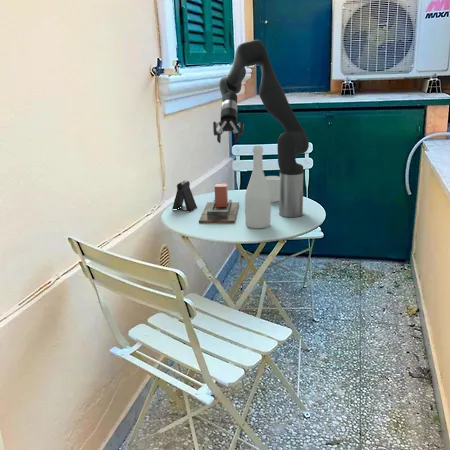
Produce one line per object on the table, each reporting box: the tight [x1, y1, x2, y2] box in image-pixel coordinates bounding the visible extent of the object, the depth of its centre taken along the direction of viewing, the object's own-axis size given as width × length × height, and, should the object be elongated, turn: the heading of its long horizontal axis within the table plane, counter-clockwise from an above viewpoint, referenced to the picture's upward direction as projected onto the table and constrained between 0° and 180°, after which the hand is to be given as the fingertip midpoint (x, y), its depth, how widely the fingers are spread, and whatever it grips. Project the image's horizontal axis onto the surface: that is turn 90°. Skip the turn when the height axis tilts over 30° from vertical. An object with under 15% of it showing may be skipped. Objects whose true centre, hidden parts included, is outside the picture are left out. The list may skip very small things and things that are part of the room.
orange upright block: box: [214, 183, 229, 207], centre depth 189 cm, size 5×5×9 cm
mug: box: [265, 175, 280, 203], centre depth 200 cm, size 12×8×10 cm
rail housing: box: [198, 199, 240, 224], centre depth 183 cm, size 14×26×4 cm, turn 175°
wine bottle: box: [244, 145, 272, 230], centre depth 164 cm, size 10×10×30 cm
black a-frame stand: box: [172, 180, 198, 213], centre depth 189 cm, size 9×6×12 cm, turn 67°
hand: (227, 141), depth 195 cm, fingers open, 6 cm apart
